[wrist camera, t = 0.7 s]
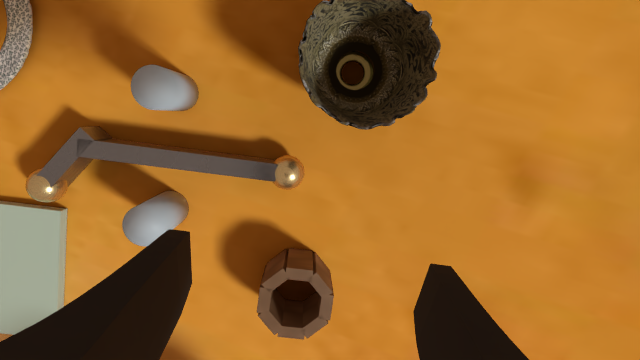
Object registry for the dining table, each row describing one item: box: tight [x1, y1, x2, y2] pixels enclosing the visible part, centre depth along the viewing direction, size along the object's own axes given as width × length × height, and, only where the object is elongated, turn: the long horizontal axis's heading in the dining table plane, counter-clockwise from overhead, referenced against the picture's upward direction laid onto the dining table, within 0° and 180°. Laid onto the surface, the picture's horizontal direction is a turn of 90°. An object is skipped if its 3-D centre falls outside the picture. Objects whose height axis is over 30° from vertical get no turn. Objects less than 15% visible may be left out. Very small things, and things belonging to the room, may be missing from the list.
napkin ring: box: [257, 248, 334, 339], centre depth 29 cm, size 5×5×4 cm
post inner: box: [123, 191, 189, 246], centre depth 27 cm, size 3×3×5 cm
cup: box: [298, 0, 441, 130], centre depth 25 cm, size 8×7×8 cm
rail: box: [26, 126, 304, 202], centre depth 28 cm, size 6×19×3 cm, turn 82°
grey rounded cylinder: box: [131, 65, 198, 111], centre depth 26 cm, size 3×3×5 cm
